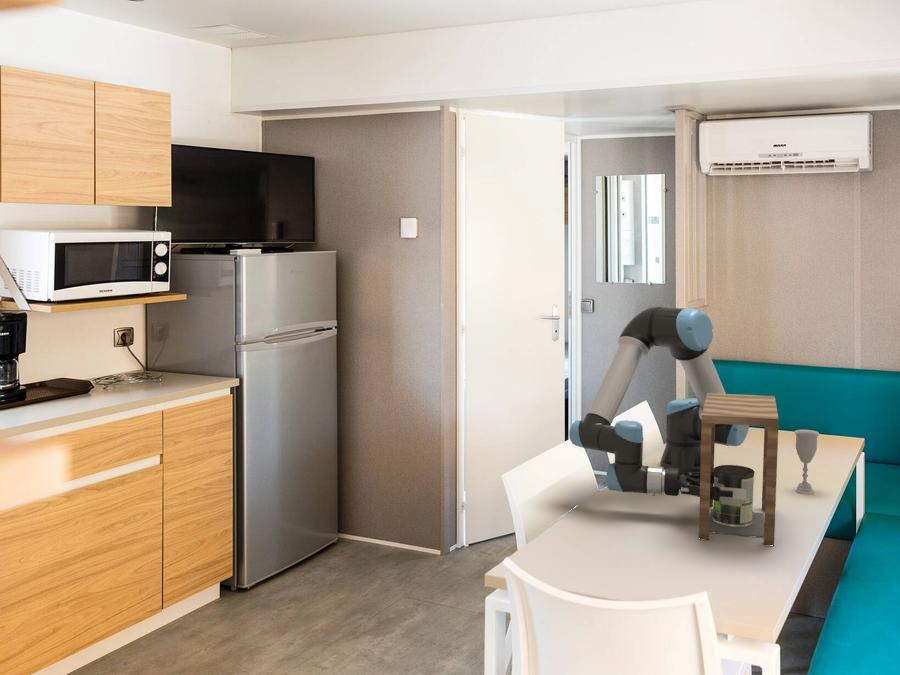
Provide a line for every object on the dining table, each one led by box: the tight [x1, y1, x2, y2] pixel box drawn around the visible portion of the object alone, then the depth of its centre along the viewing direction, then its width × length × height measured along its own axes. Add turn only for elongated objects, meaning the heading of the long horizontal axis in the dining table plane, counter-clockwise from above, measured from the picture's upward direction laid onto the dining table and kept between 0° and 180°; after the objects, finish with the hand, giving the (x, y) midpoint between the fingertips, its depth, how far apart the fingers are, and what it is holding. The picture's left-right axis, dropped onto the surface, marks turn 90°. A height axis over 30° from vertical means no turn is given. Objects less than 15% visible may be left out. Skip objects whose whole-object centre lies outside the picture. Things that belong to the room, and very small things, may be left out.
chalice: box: [794, 429, 820, 495], centre depth 270 cm, size 7×7×18 cm
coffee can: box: [712, 464, 756, 527], centre depth 241 cm, size 10×10×14 cm
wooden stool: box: [698, 393, 780, 547], centre depth 240 cm, size 32×18×32 cm, turn 162°
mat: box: [709, 508, 765, 538], centre depth 242 cm, size 20×14×1 cm
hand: (746, 487), depth 240 cm, fingers open, 13 cm apart
